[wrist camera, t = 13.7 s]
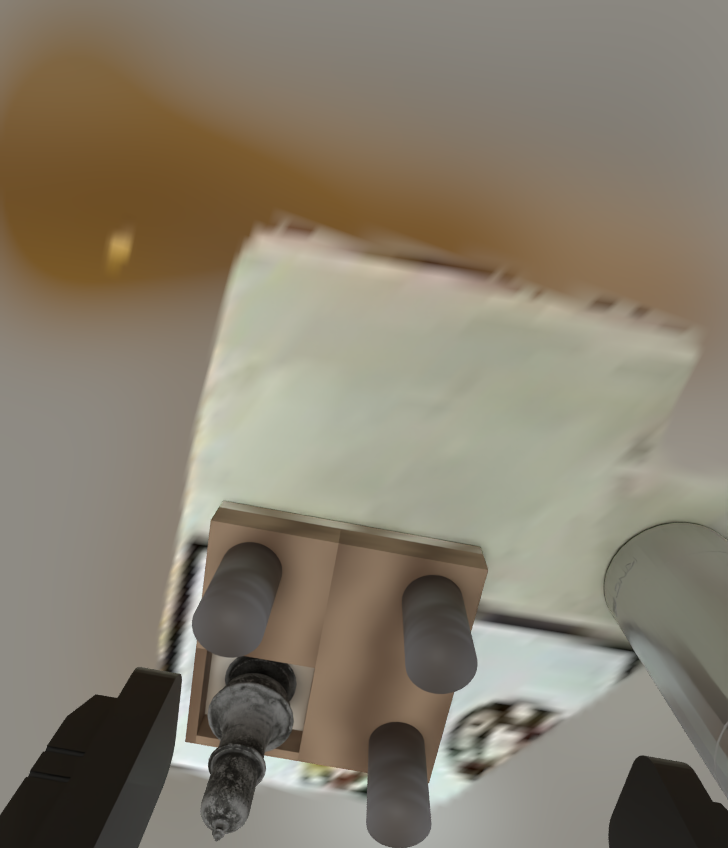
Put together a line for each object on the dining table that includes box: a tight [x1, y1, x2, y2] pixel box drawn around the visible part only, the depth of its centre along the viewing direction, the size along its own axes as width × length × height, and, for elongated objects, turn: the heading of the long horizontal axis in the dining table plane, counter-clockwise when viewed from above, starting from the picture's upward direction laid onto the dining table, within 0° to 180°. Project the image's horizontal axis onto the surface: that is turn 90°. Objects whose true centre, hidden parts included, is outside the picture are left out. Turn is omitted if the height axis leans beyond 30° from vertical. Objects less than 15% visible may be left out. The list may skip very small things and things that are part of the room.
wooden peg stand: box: [185, 501, 488, 848], centre depth 38 cm, size 18×18×9 cm
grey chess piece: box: [201, 656, 297, 841], centre depth 37 cm, size 6×6×12 cm
